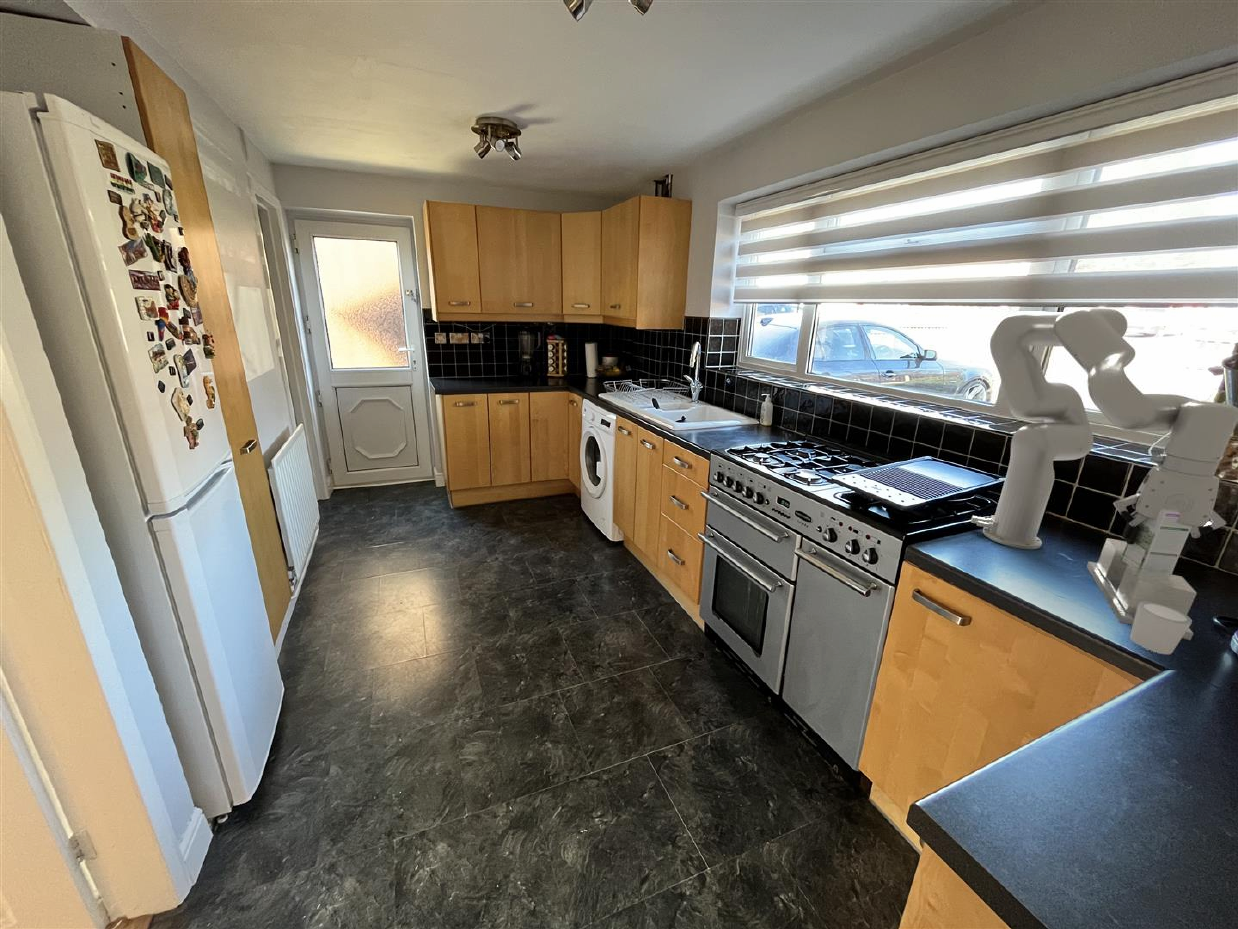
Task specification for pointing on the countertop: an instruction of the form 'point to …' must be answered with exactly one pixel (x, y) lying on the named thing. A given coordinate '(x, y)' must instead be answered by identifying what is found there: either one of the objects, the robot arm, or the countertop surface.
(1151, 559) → the syrup box
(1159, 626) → the grey mug
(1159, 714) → the countertop surface
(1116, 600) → the board
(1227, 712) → the countertop surface
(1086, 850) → the countertop surface
